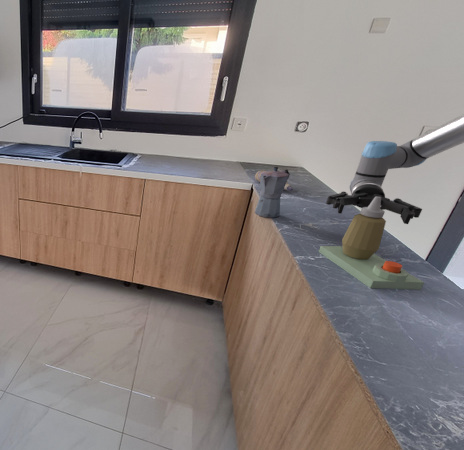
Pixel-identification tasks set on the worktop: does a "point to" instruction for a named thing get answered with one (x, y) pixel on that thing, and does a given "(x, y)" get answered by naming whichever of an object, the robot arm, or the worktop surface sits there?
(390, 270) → the switch
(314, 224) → the worktop surface
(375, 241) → the squeeze bottle
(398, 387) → the worktop surface
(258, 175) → the decorative bottle
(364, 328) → the worktop surface
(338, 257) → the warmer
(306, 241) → the worktop surface
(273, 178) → the moka pot
